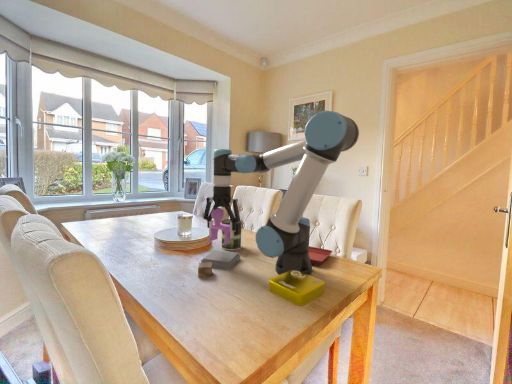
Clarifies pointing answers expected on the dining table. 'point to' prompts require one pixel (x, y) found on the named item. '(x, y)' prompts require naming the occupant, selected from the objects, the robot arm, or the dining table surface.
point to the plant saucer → (318, 255)
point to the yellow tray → (297, 287)
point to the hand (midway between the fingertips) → (221, 236)
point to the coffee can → (236, 239)
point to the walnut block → (205, 269)
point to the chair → (219, 226)
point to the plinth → (221, 259)
